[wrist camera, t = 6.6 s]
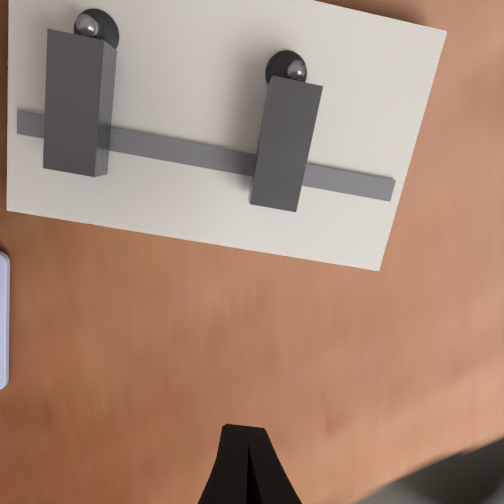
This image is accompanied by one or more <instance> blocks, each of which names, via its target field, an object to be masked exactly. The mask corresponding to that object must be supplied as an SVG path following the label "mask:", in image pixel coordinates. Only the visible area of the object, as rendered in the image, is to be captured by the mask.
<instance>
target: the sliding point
mask: <svg viewBox="0 0 504 504" xmlns="http://www.w3.org/2000/svg"><path fill="white" fill-rule="evenodd" d="M305 73H306V65H305V63H304V62H303V61H301V60H295V61H293V62H292V63H291V64H290V66H289V67H288V69H287V71H286V75H287V78H288V79H287V78H282V77H277V76H272V78H271V79H270V81H269V84H268V90H267V95H266V101H265V107H264V112H263V118H262V123H261V129H260V134H259V140H258V146H257V151H256V157H255V162H254V168H253V174H252V179H251V185H250V190H249V196H248V201H249V204H251V205H257V206H262V207H268V208H274V209H280V210H285V211H291V212H296V211H297V206H298V201H299V197H300V192H301V188H302V183H303V178H304V174H305V169H306V164H307V160H308V155H309V150H310V146H311V141H312V136H313V132H314V127H315V122H316V118H317V113H318V108H319V104H320V99H321V94H322V90H323V86H320V85H315V84H311V83H306V82H301V81H299V80H300V79H301V78H302V77H303V76H304V75H305Z"/></svg>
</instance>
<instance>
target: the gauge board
mask: <svg viewBox="0 0 504 504" xmlns="http://www.w3.org/2000/svg"><path fill="white" fill-rule="evenodd" d="M81 14H87V15H89V16H90V17H92V18H93V19H94V20H95V21H96V22H97V23H98V24H99V25H100V27H101V29H102V34H101V37H100V38H99V39H100V40H104V41H106V42H107V43H108V44H109V45H111V46H112V47H113V48H114V49H115V50H117V58H116V71H115V84H114V96H113V109H112V122H111V134H110V147H109V160H108V172H107V174H106V175H102V176H98V177H90V176H85V175H79V174H73V173H67V172H62V171H56V170H50V169H45V168H43V146H44V116H45V87H46V58H47V29H53V30H57V31H62V32H67V33H72V34H76V35H81V36H84V35H83V34H82V33H80V32H79V31H78V29H77V27H76V19H77V17H78V16H79V15H81ZM446 34H447V31H444V30H440V29H435V28H431V27H427V26H422V25H418V24H414V23H409V22H405V21H401V20H396V19H392V18H388V17H384V16H379V15H375V14H371V13H366V12H362V11H358V10H353V9H349V8H345V7H340V6H336V5H332V4H327V3H323V2H319V1H314V0H9V21H8V124H7V211H13V212H19V213H25V214H31V215H38V216H44V217H50V218H56V219H62V220H68V221H75V222H81V223H87V224H93V225H99V226H105V227H111V228H118V229H124V230H130V231H136V232H142V233H148V234H155V235H161V236H167V237H173V238H179V239H185V240H191V241H198V242H204V243H210V244H216V245H222V246H228V247H234V248H241V249H247V250H253V251H259V252H265V253H271V254H278V255H284V256H290V257H296V258H302V259H308V260H314V261H321V262H327V263H333V264H339V265H345V266H351V267H357V268H364V269H370V270H376V271H379V269H380V265H381V262H382V258H383V255H384V251H385V248H386V244H387V241H388V237H389V234H390V230H391V227H392V223H393V220H394V216H395V213H396V209H397V206H398V202H399V199H400V195H401V192H402V188H403V185H404V181H405V178H406V174H407V171H408V167H409V164H410V160H411V157H412V153H413V150H414V146H415V143H416V139H417V136H418V132H419V129H420V125H421V122H422V118H423V115H424V111H425V108H426V104H427V101H428V97H429V94H430V90H431V87H432V83H433V80H434V76H435V73H436V69H437V66H438V62H439V59H440V55H441V52H442V48H443V45H444V41H445V38H446ZM295 60H301V61H303V62H304V63H305V65H306V73H305V75H304V76H303V77H302V78H301V79H300V80H299V81H301V82H306V83H311V84H315V85H320V86H323V90H322V94H321V99H320V104H319V108H318V113H317V118H316V122H315V127H314V132H313V136H312V141H311V146H310V150H309V155H308V160H307V164H306V169H305V174H304V178H303V183H302V188H301V192H300V197H299V201H298V206H297V211H296V212H291V211H285V210H280V209H274V208H268V207H262V206H257V205H251V204H249V201H248V196H249V190H250V185H251V179H252V174H253V168H254V162H255V157H256V151H257V146H258V140H259V134H260V129H261V123H262V118H263V112H264V107H265V101H266V95H267V90H268V84H269V81H270V79H271V78H272V76H277V77H282V78H287V75H286V71H287V69H288V67H289V66H290V64H291V63H292V62H293V61H295ZM287 79H288V78H287Z"/></svg>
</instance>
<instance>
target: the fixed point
mask: <svg viewBox="0 0 504 504" xmlns="http://www.w3.org/2000/svg"><path fill="white" fill-rule="evenodd" d="M76 27H77V29H78V31H79V32H80V33H82V34H83V35H84V36H81V35H76V34H72V33H67V32H62V31H57V30H53V29H47V58H46V87H45V116H44V146H43V168H45V169H50V170H56V171H62V172H67V173H73V174H79V175H85V176H90V177H98V176H102V175H106V174H107V172H108V160H109V147H110V134H111V122H112V109H113V96H114V84H115V71H116V58H117V50H115V49H114V48H113V47H112V46H111V45H109V44H108V43H107V42H106V41H104V40H100V39H99V38H100V37H101V34H102V29H101V27H100V25H99V24H98V23H97V22H96V21H95V20H94V19H93V18H92V17H90V16H89V15H87V14H81V15H79V16H78V17H77V19H76Z"/></svg>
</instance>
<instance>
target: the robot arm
mask: <svg viewBox="0 0 504 504" xmlns="http://www.w3.org/2000/svg"><path fill="white" fill-rule="evenodd" d="M9 302H10V260H9V257H8V256H7V255H6V254H5V253H3V252H0V389H2V388H3V387H4V386H5V385H6V384H7V383H8V380H9ZM198 504H302V503H301V501H300V499H299V498H298V496H297V494H296V492H295V490H294V489H293V487H292V485H291V483H290V481H289V479H288V477H287V475H286V473H285V471H284V469H283V467H282V465H281V463H280V461H279V459H278V457H277V455H276V453H275V450H274V448H273V446H272V444H271V441H270V439H269V436H268V434H267V431H266V430H265V429H264V428H258V427H250V426H241V425H232V424H226V425H224V426H222V431H221V437H220V442H219V447H218V452H217V458H216V461H215V463H214V466H213V469H212V472H211V474H210V477H209V479H208V482H207V484H206V486H205V489H204V491H203V493H202V495H201V498H200V500H199V502H198Z"/></svg>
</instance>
